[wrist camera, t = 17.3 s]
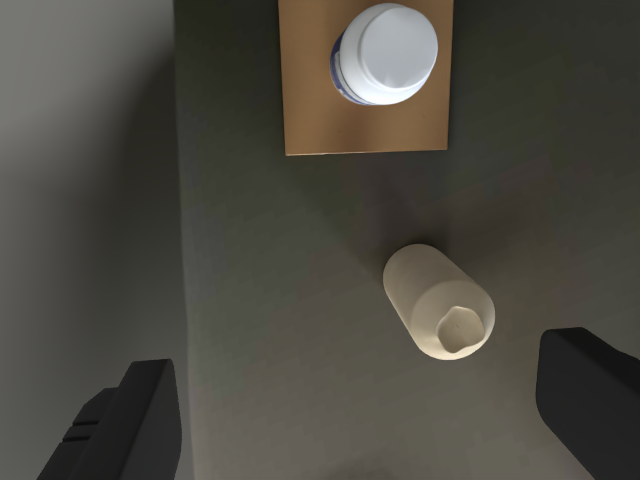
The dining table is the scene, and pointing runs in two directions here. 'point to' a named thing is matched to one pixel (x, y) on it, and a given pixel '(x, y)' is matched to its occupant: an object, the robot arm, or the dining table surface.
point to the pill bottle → (383, 55)
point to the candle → (438, 302)
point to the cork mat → (337, 111)
